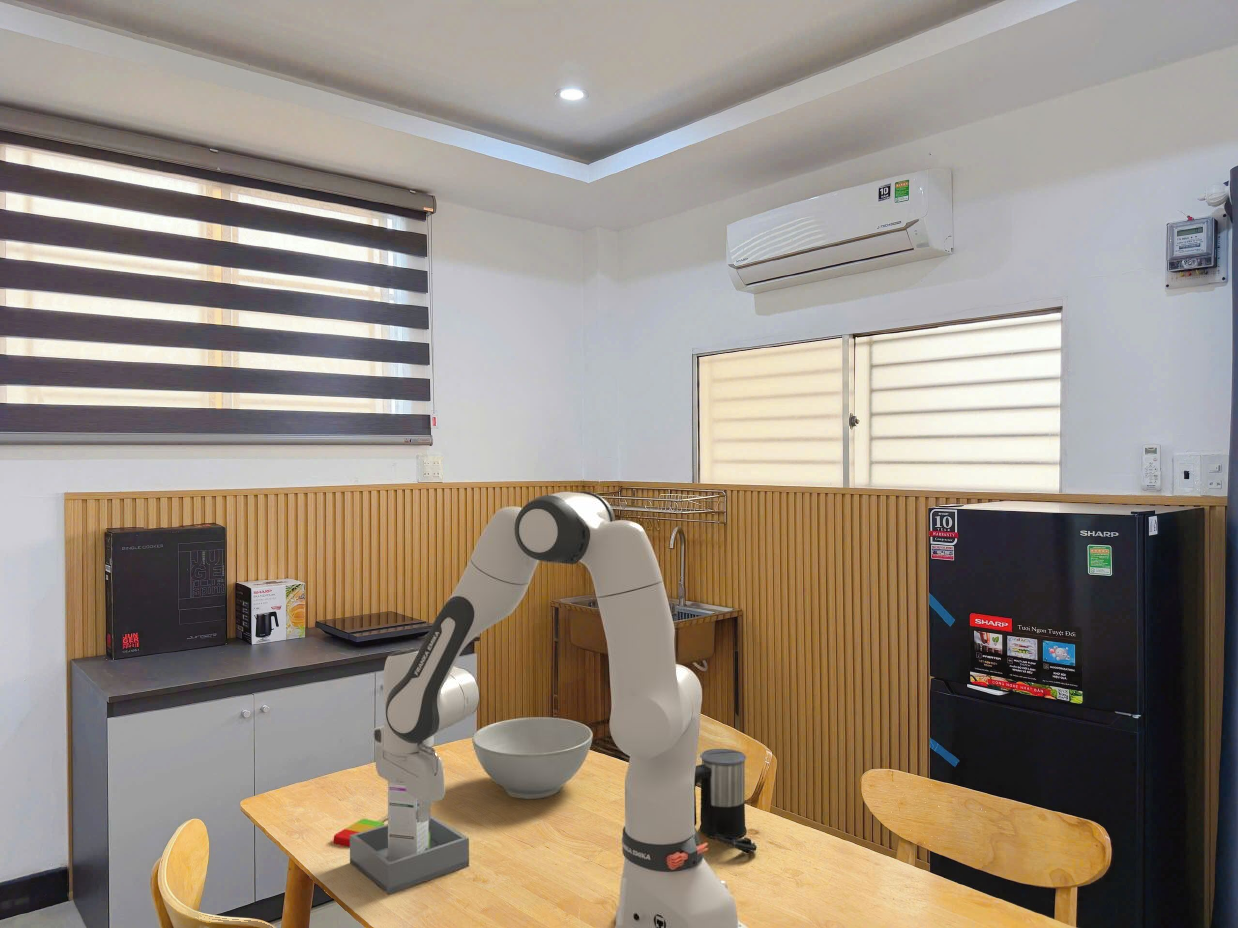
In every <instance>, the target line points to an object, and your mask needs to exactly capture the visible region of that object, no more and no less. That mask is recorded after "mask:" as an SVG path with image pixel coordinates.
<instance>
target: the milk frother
mask: <svg viewBox="0 0 1238 928" xmlns="http://www.w3.org/2000/svg"><path fill="white" fill-rule="evenodd" d="M699 757H700V758H701V764H698V765H696V768H695V780H694V827H695V828H696V825H697V824H698V823H697V805H696V804H697V797H696V795H697V794H696V786H697V784H698V783H699V781H700V815H699V816H700V818H699V819H700V820H699V821H700V825H699V830H700V833H702V834H703V835H705V836H707V837H709V838H712V839H715V840H716V841H718V842H720V843H723V844H726V845H729V846H731V847H732V848H735V849H737V850H738V851H741V852H742V853H745V854H747V855H748V854H750V852H756V851H757V848H758V846H757V845H756V842H752V840H751V838H750V837H749V838H748V837H746V836H745V834H746V833H747V831H748V830H747V827H746V807H745V805H746V796H745V794H746V781H745V780H746V775H745V774H746V773H745V772H746V768H745V767H746V764H745V763H746V762H745V761H746V760H747V756H746V754H745V753H743V752H742V751H740V750H739V751H738V750H735V749H731V748H714V749H707V750H704V751H702V752H700V755H699ZM743 836H745V837H744V838H742V837H743Z"/></svg>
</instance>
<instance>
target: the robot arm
mask: <svg viewBox="0 0 1238 928" xmlns="http://www.w3.org/2000/svg"><path fill="white" fill-rule="evenodd" d="M474 546H475V547H474V549H473V551H472V554H471V556H470V558H469V560H468V562H467V565H466V568H465V569H464V572H462V575H461V577H460V580H459V581H458V583H457V584H456V587H455V589H454V590H453V592H452V593H451V594H450V596H449V598H448V600H447V601H446V602H445V604H444V605H443V607H442V609H441V610H440V612H439V613H438V614H437V616H436V618H435V620H434V622H433V623H432V625H431V627H430V629H429V631H428V633H427V635H426V637H425V638H424V641H423V642H422V644H421V646H420V645H419V646H411V647H408V648H402V649H398V650H396V651H393V652H391V653H390V654H389V655H388V656H387V658H386V660H385V663H384V668H383V676H382V677H383V679H382V680H383V682H382V698H383V703H384V706H385V707H384V708H385V713H384V717H383V725H382V726H379V727H375V728H373V729H372V739H373V741H375V742H374V743H375V744H374V761H375V769H376V772H377V775H378V776H379V778H382V779H384V780H385V781H387V785H388V784H389V783H390V782H392V781H393V780H395V779H396V780H399V781H401V782H403V783H404V784H405V789H406V792H407V793H409V794H411V795H412V796H414V797H416V798H417V799H418V804H420V805H419V809H418V811H416V820H418V821H419V822H421V823H423V822H426V821H428V819H429V810H430V811H431V808H432V804H433V803H436V802H439V801H441V800H442V799H444V796H445V794H446V787H445V775H444V774H445V773H444V765H443V761H442V758H441V757H440V756H439V755H438V754H437V753H436V749H435V748H434V747H433V746H434V742H435V739H434V735H435V734H437V733H439V732H441V731H443V730H446V729H448V728H450V727H452V726H454V725H455V724H457V723H460V722H462V721H464V720H466V719H468V718H469V717H471V716H472V715H474V714H475V712H476V711H477V709H478V707H479V703H480V698H481V694H480V693H481V692H480V687H479V684H478V681H477V680H476V678H475V676H474V675H473V673H471V672H470V671H469V670H468V669H466V668H462V667H457V666H455V664H456V662H458V658H459V657H460V655H461V653H462V652H463V650H464V649H465V648H466V647H467V645H468V644H470V643H471V641H472V640H473V639H474V638H476V637H478V636H479V635H480V634H481V633H483V632H485V631H486V630H487V629H489V628H490V627H492V626H494V625H495V624H497V623H499V622H501V621H503V620H504V619H506V618H508V617H509V616H510V615H511V614H512V613H514V611H515V610H516V608H517V607H518V605H519V604H521V602H522V600H523V599H524V596H525V595H526V592H527V591H528V588H529V586H530V583H531V580H532V579H533V576H534V574H535V571H536V568H537V566H538V565H539V562H544V563H551V564H552V563H553V564H565V565H577V564H578V562H580V563H582V564H583V565H584V566H585V567H586V568H587V570H588V571H589V574H590V576H591V580H592V583H593V587H594V592H595V597H596V600H597V604H598V609H599V613H600V614H599V615H600V617H601V623H602V627H603V631H604V634H605V640H606V644H607V646H606V647H607V653H608V654H607V655H608V664H609V665H608V667H609V668H608V669H609V682H610V683H609V685H610V696H611V697H610V698H611V700H610V701H611V708H610V709H611V711H610V717H609V732H610V735H611V738H612V740H613V742H614V744H615V745H616V747H618V749H619V750H620V751H621V752H623V753H624V754H625V755H627V756H629V761H628V766H627V771H626V772H625V773H626V774H625V777H624V826H623V828H622V835H621V836H622V837H621V849H622V851H621V852H622V855H623V857H624V860H623V869H622V873H621V874H622V875H621V879H620V887H619V895H618V896H619V897H618V899H619V900H618V905H617V908H616V909H617V910H616V913H615V917H614V919H615V926H614V928H749V927H748V926H746V925H745V924H744V923H742V922H741V921H740V920H739V919H738V911H737V904H736V901H735V898H734V896H733V894H732V893H731V892H730V891H729V888H728V885H727V883H726V881H725V880H723V879H720V878H719V876H718V875H717V874H716V873H715V871H714V870H713V868H712V867H711V866H710V865H709V863H708V862H707V861H706V860H705V858H704V852H706V851H708V850H709V849H708V848H707V846H708V845H709V843H708V842H704V843H702V844H701V840H700V836H699V833H698V831H697V828H696V826H695V827H694V780H695V768H696V766H697V758H698V750H699V738H700V727H701V708H702V701H703V689H702V688H703V687H702V685H701V682H700V680H699V678H698V676H697V675H696V674H695V673H694V672H693V671H692V670H691V669H690V668H688V667H686V666H684V665H682V664H677V663H676V651H675V633H676V631H675V630H676V629H675V624H674V620H673V616H672V612H671V608H670V603H669V600H668V597H667V596H668V595H667V591H666V588H665V584H664V580H663V576H662V572H661V569H660V566H659V565H660V564H659V563H658V559H657V557H656V556H657V555H656V554H655V551H654V548H653V546H652V543H651V541H650V539H649V537H648V535H647V533H646V531H645V529H644V528H643V527H642V526H641V525H640V524H639V523H637V522H634V521H631V520H626V519H625V520H624V519H620V520H616V517H615V513H614V510H613V508H612V506H611V505H610V503H609V502H608V501H607V500H606V499H605V498H603V497H602V496H600V495H598V494H595V493H592V492H588V491H579V492H572V491H559V492H555V493H551V494H545V495H541V496H538V497H535V498H533V499H532V500H530V501H528V502H527V503H526V504H525V505H523V507H520V506H505V507H502V508H499V509H498V510H497V511H496V512H495V513H494V514H493V515H492V517H491V519H489V520H488V522H487V524H486V526H485V528H484V529H483V532H482V533H481V535H480V537H479V538H478V540H477V543H476V544H475V545H474Z"/></svg>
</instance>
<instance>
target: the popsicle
mask: <svg viewBox="0 0 1238 928" xmlns="http://www.w3.org/2000/svg"><path fill="white" fill-rule="evenodd" d="M386 820H388V814H386V815H385V816H382V817H381V818H378V819H377V820H371V819H367V818H362V819H360V820H358V821H356V822H354V823H352V824H351V825H349V826H348V827H345V828H344V829H342V830H340V831H338V832H337V833H335V834H334V835H333V844H334V845H337V846H343V847H346V848H350V835H353V834H356V833H359V832H363V831H366V830H369V829H373V828H376V827H379V826H383V825H385V823H384V822H385V821H386Z"/></svg>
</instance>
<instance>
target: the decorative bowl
mask: <svg viewBox="0 0 1238 928" xmlns="http://www.w3.org/2000/svg"><path fill="white" fill-rule="evenodd" d="M593 736H594V735H593V730H591V728H590V727H589V726H587V725H586V724H583V723H581V722H579V721H575V720H571V719H565V718H558V717H545V716H544V717H543V716H542V717H541V716H538V717H534V716H533V717H520V718H512V719H506V720H502V721H498V722H493V723H491V724H488V725H486V726H483V727H481V728H480V729H478V730H477V731H475V733H474V734H473V736H472V738H471V741H472V746H473V749H474V750H473V751H474V753H475V755H476V758H477V760H478V762H479V763H480V766H481V767H482V769H483V770H484V772H485V773H486V774H487V775H488V777H489V778H490V779H491V780H493V782H495V783H496V784H497V785H498V786H500V787H502V788H504V789H505V792H506V793H507V794H508V795H510V796H511V797H514V798H518V799H524V800H525V799H526V800H534V799H536V800H537V799H542V798H544V799H545V798H547V797H550V796H553V795H555V794H557V793H559V792H560V790H561V789H562V787H561V786H563V785H564V784H566V783H567V782H569V781H571V779H573V777H574V776H575V775H576V774H577V773H578V772H579V770H580V768H581V767H582V766H583V765H584V762H585V760H586V758H587V756H588V754H589V751H590V749H591V745H592V743H593V738H594V737H593Z"/></svg>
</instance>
